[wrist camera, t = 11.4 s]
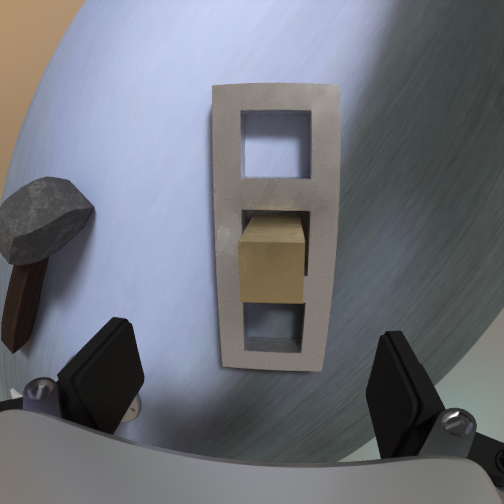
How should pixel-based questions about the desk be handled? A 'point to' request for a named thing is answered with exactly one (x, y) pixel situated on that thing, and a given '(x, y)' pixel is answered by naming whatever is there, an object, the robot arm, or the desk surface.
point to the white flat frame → (276, 198)
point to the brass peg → (272, 259)
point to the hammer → (35, 246)
